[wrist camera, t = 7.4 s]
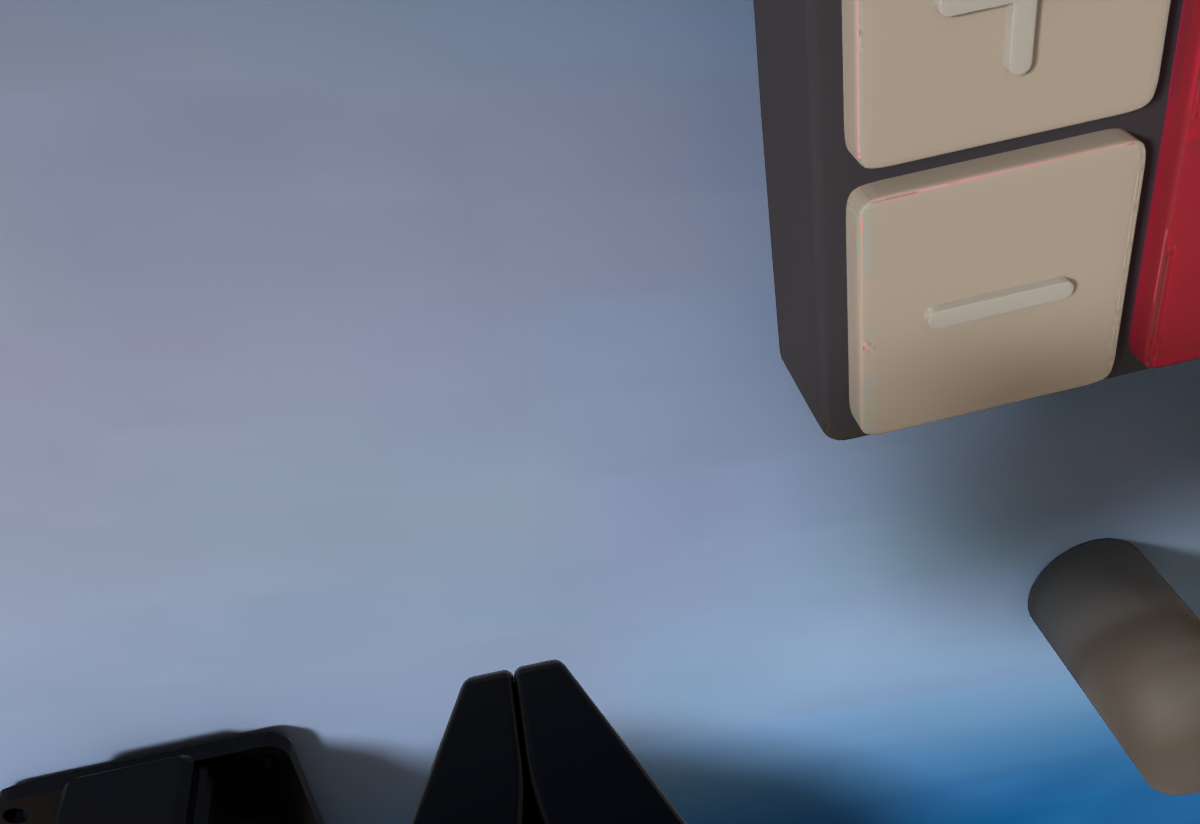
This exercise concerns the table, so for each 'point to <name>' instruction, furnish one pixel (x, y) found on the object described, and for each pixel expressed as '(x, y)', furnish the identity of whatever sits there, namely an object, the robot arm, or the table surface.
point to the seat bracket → (1128, 654)
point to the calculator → (978, 199)
